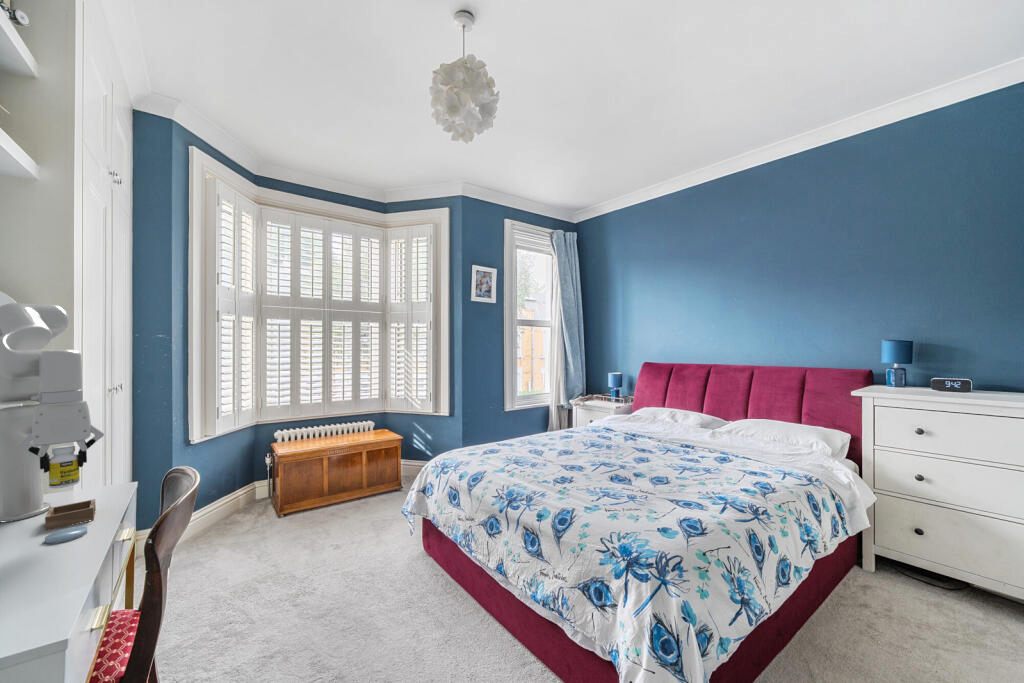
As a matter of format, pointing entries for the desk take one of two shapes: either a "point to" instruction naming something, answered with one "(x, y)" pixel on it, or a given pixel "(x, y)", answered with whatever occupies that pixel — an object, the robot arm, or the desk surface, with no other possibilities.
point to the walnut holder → (70, 514)
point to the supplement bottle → (63, 467)
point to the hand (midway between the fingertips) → (64, 467)
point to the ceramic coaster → (65, 535)
